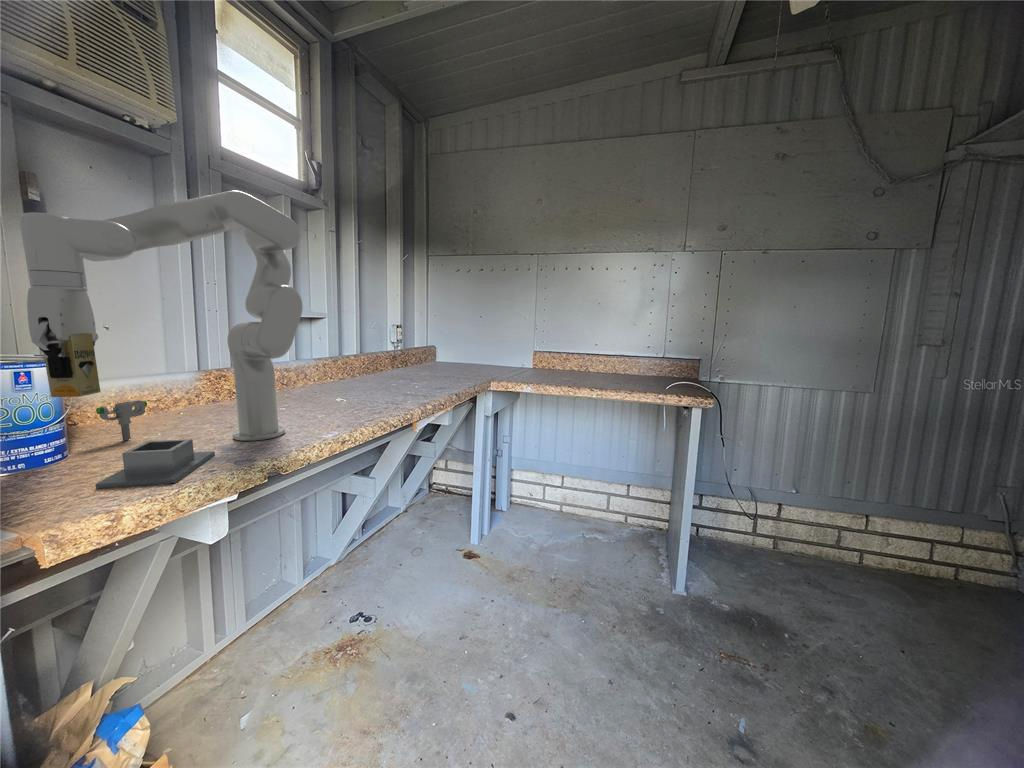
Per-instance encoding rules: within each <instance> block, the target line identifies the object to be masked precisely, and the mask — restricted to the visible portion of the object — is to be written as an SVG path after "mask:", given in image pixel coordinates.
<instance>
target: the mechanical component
mask: <svg viewBox="0 0 1024 768" xmlns="http://www.w3.org/2000/svg"><path fill="white" fill-rule="evenodd" d="M113 405H114V407H113V408H112V410H109V409H108V407H107V406H100V407H97V408H95V410H96V411H95V412H96V413H97V415H99V417H100V419H102V420H106V421H110V422H111V421H118V423H117V425H119V426H120V427H121V428H120V430H121V437H122V441H123V440H124V441H125V440H129V439H131V440H132V437H131V431H130V424H132V421H131V418H133V417H141V416H143V415H144V414H145V412H146V407H147V406H148V402H147V401H146V400H139V399H138V400H131V401H124V402H117V403H114V404H113ZM133 407H134V408H133ZM112 414H115V416H111V417H109V416H108V415H112ZM129 441H130V440H129Z"/></svg>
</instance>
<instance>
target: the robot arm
mask: <svg viewBox="0 0 1024 768" xmlns="http://www.w3.org/2000/svg"><path fill="white" fill-rule="evenodd" d="M19 227H20V232H21V234H20V235H21V238H22V245H23V250H24V256H25V257H24V258H25V263H26V268H27V274H28V281H29V286H30V288H29V287H28V291H27V299H26V304H27V305H26V311H27V322H28V332H29V336H30V339H31V343H33V344H34V345H35V346H36V347H38V349H39V350H40V351H42V353H43V358H44V357H46V358H47V361H48V367H49V373H50V377H51V378H71V377H72V376H73V375H72V369H71V363H70V357H66V353H67V341H69V340H70V335H80V334H92V337H93V344H94V346H96V342H97V341H98V339H99V335H98V333H97V328H96V322H95V316H94V312H93V311H94V310H93V308H92V303H91V300H90V296H89V294H88V283H87V277H86V272H85V264H84V263H85V262H84V260H86V261H90V262H104V261H116V260H123V259H126V258H128V257H130V256H131V255H133V254H134V253H135V252H141V251H143V250H149V249H153V248H159V247H167V246H168V247H169V246H176V245H180V244H185V243H189V242H192V241H196V240H200V239H203V238H207V237H210V236H214V235H217V234H218V235H219V234H221V233H225V232H229V231H232V230H237V229H244V230H243V232H244V233H243V235H244V238H245V241H246V243H247V245H248V246H249V247H250V249H251V250H252V252H253V254H254V256H255V261H256V268H255V273H254V275H253V279H252V281H251V285H250V287H249V290H248V293H247V295H246V299H245V303H244V304H245V305H244V306H245V309H246V312H247V314H249V316H251V317H253V318H255V319H259V320H260V321H244V322H243V321H242V322H240V323H237V324H235V325H233V326H232V327H231V329H230V330H229V332H228V335H227V339H226V340H227V347H228V350H229V353H230V354H229V355H230V357H231V361H232V367H233V375H234V387H235V388H234V389H235V398H236V399H235V400H236V411H237V418H238V419H237V420H238V430H235V431H234V432H233V433H232V438H233V439H234V440H236V441H241V442H242V441H243V442H245V441H247V442H250V441H251V442H254V441H262V440H263V441H264V440H269V439H274V438H276V437H277V438H278V437H280V436H282V435H283V434H285V433H286V429H285V427H283V426H282V425H281V426H280V425H279V419H278V418H279V417H278V415H279V414H278V403H277V389H276V373H275V368H274V364H273V361H272V359H274V360H275V359H279V358H282V357H284V356H285V355H286V354H287V353H288V351H290V349H291V347H292V345H293V342H294V339H295V336H296V333H297V330H298V327H299V323H300V322H301V321H300V320H301V318H302V313H303V301H302V297H301V295H300V294H299V292H298V290H296V289H295V288H294V287H292V286H290V285H289V284H290V280H291V276H292V268H291V264H290V262H289V260H288V257H287V255H286V253H285V251H287V250H291V249H294V248H296V247H297V246H298V245H299V243H300V242H301V237H302V235H301V230H300V228H299V226H298V225H297V223H296V222H295V221H294V220H293V219H292V218H291V217H289V216H288V215H286V214H285V213H283V212H281V211H279V210H277V209H276V208H274V207H273V206H271V205H268V203H266V202H263V201H262V200H260V199H258V198H257V197H254V196H252V195H251V194H248V193H246V192H243V191H240V190H237V189H236V190H235V189H234V190H227V191H223V192H218V193H214V194H209V195H203V196H199V197H193V198H188V199H184V200H180V201H173V202H169V203H163V204H160V205H156V206H152V207H149V208H146V209H143V210H141V211H140V210H139V211H137V212H133V213H128V214H126V215H125V214H124V215H121V216H117V217H116V216H115V217H113V218H112V217H111V218H108V219H107V218H106V219H101V220H100V219H84V218H70V217H67V216H64V215H60V214H53V213H47V212H46V213H45V212H37V211H36V212H35V211H34V212H33V211H31V212H24V213H22V214H21V215H20V216H19ZM51 338H57V339H58V340H52V339H51ZM55 345H59V348H57V347H56V346H55Z"/></svg>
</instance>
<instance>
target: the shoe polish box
mask: <svg viewBox="0 0 1024 768" xmlns="http://www.w3.org/2000/svg"><path fill="white" fill-rule="evenodd" d="M51 339H52V340H58V339H57V338H51ZM55 346H56V347H57V348H59V345H55ZM66 357H70V363H71V369H72V375H73V376H72V377H71V378H51V377H50V373H49V367H48V361H47V358H46V357H44V356H43V358H44V364H45V369H46V374H47V382H48V387H49V388H48V389H49V394H50V397H51V398H75V397H76V398H79V397H80V398H81V397H85V396H89V395H94V394H98V393H101V386H100V380H99V372H98V364H97V360H96V359H97V358H96V353H95V345H94V344H93V337H92V334H80V335H70V340H69V341H67V353H66Z"/></svg>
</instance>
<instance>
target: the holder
mask: <svg viewBox="0 0 1024 768" xmlns="http://www.w3.org/2000/svg"><path fill="white" fill-rule="evenodd" d="M121 454H122V462H123V469H121V470H119V471H118V472H116V473H115V472H114V473H113V474H112V475H110V476H107V477H106V478H104V479H102V480H100V481H99V482H96V483H95V484H94V485H95V489H96V490H101V489H102V488H105V489H115V488H114V487H120V488H129V487H128V486H135V487H146V486H147V485H149V486H159V485H158V484H164V485H171V484H170V483H175V484H177V483H178V482H179V481H181V480H182V479H184V478H185V477H187V476H188V475H189V474H190V472H191V473H192V472H194V471H196V470H197V468H199V467H200V466H202V465H204V464H205V463H206V462H208V461H209V460H210V459H211V457H212V458H213V457H215V455H216V454H215V451H214V450H213V451H211V450H210V451H194V443H193V439H192V438H188V439H187V438H186V439H164V440H163V439H162V440H161V439H160V440H146V441H145V442H142V443H141V444H139V445H136V446H134V447H132V448H130V449H128V450H126V451H123V452H122V453H121ZM208 459H209V460H208ZM204 462H205V463H204ZM187 474H188V475H187ZM184 476H185V477H184ZM183 477H184V478H183ZM181 478H182V479H181ZM180 479H181V480H180ZM178 480H179V481H178ZM177 481H178V482H177ZM176 482H177V483H176ZM126 486H127V487H126ZM147 487H148V486H147ZM102 490H103V489H102Z"/></svg>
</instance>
